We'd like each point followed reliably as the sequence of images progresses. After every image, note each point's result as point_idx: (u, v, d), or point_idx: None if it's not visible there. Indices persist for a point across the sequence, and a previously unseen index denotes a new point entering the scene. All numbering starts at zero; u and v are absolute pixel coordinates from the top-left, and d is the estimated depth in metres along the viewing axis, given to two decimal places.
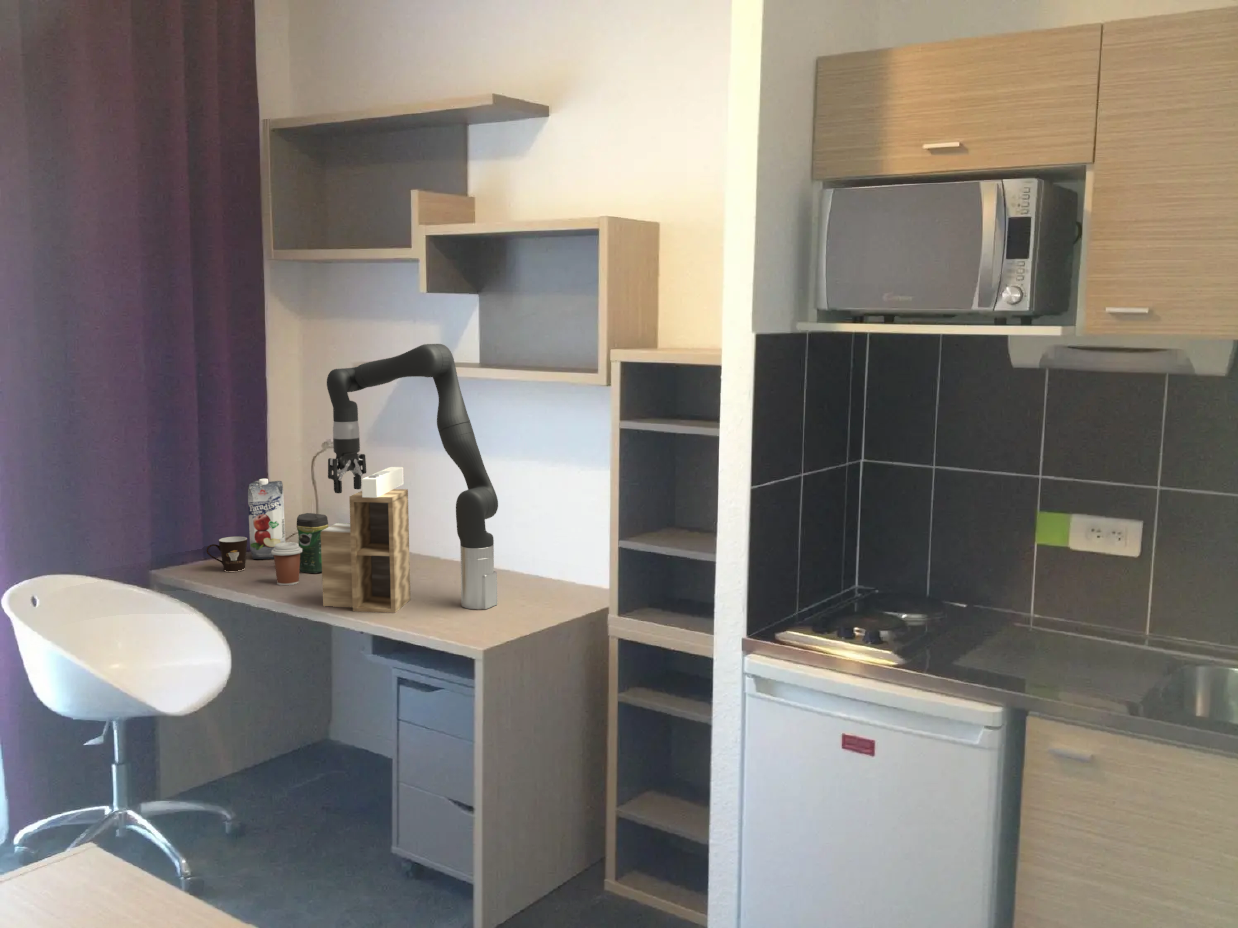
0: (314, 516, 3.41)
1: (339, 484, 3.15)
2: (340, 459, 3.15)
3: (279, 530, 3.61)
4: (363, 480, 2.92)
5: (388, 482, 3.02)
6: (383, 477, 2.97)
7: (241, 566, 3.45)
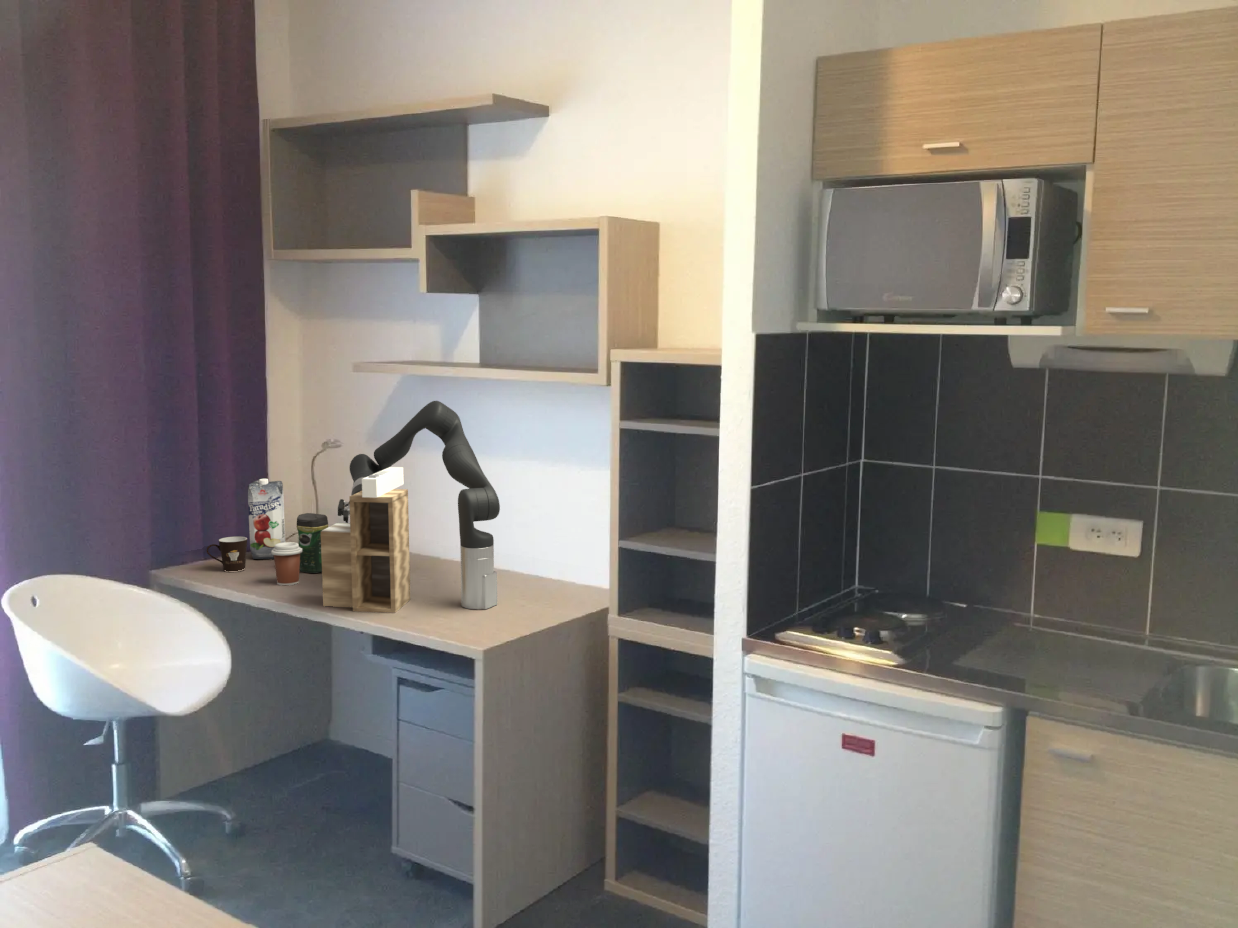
0: (314, 516, 3.41)
1: (346, 513, 3.15)
2: (349, 501, 3.21)
3: (279, 530, 3.61)
4: (363, 480, 2.92)
5: (388, 482, 3.02)
6: (383, 477, 2.97)
7: (241, 566, 3.45)
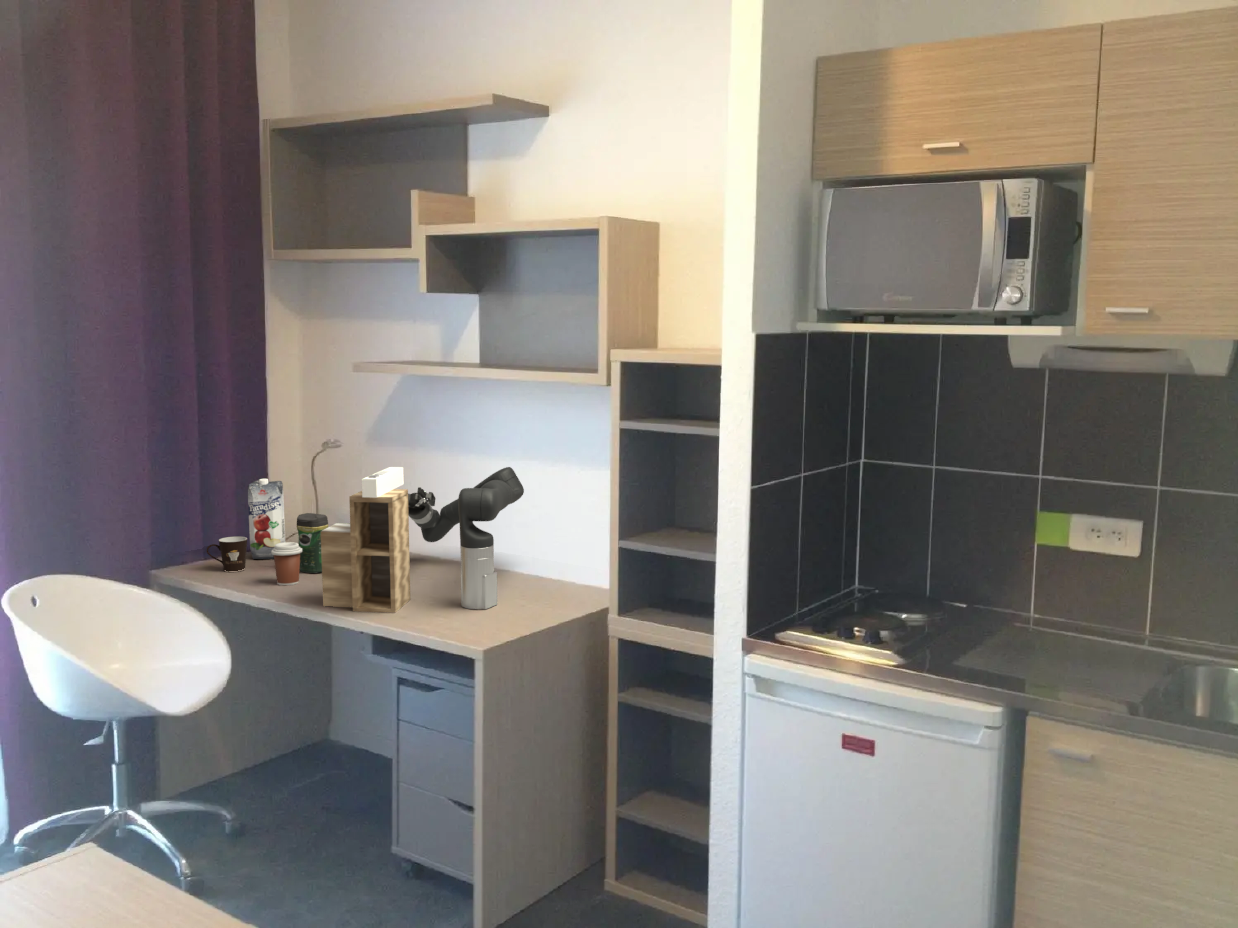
0: (314, 516, 3.41)
1: None
2: None
3: (279, 530, 3.61)
4: (363, 480, 2.92)
5: (388, 482, 3.02)
6: (383, 477, 2.97)
7: (241, 566, 3.45)
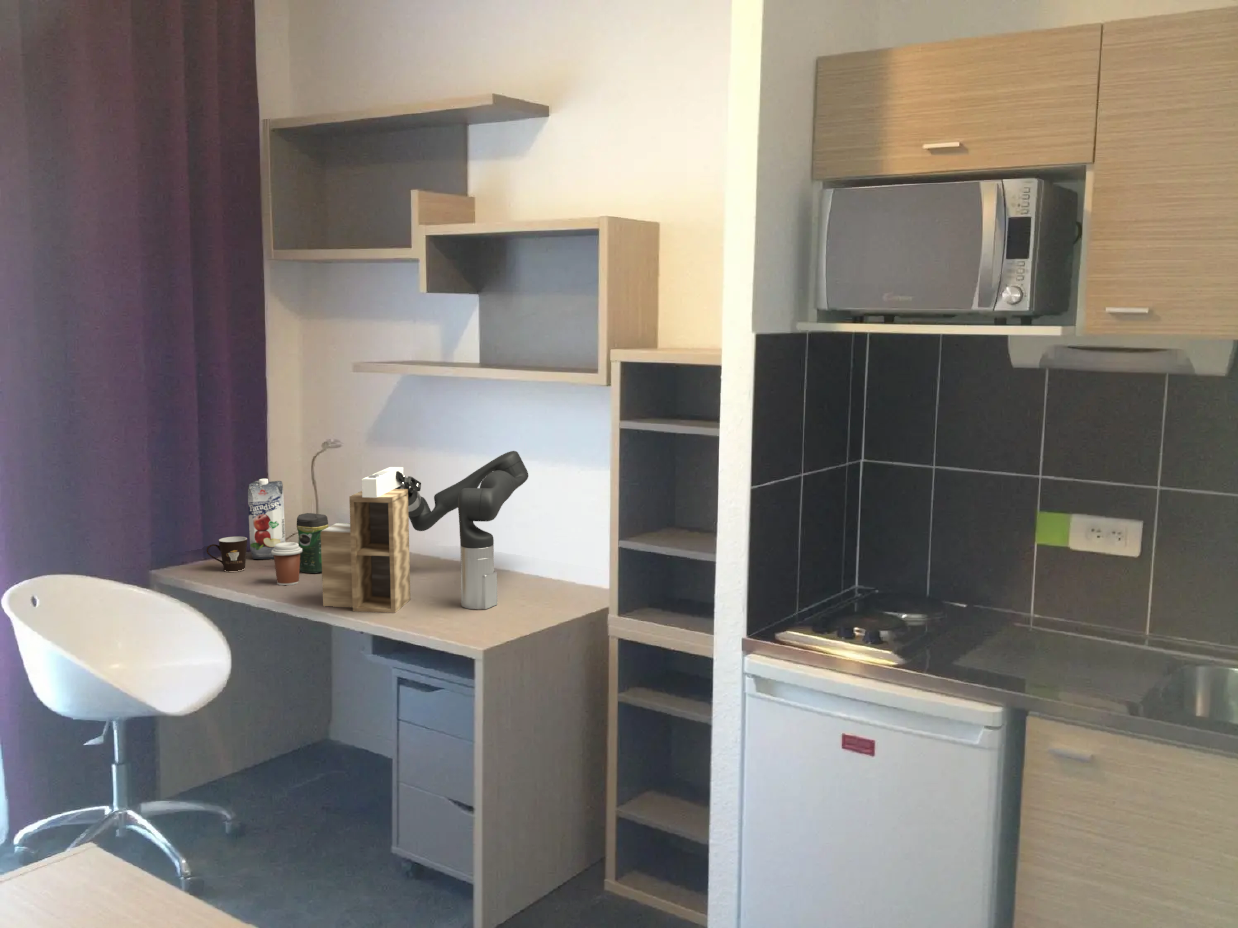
0: (314, 516, 3.41)
1: None
2: None
3: (279, 530, 3.61)
4: (363, 480, 2.92)
5: (388, 482, 3.02)
6: (383, 477, 2.97)
7: (241, 566, 3.45)
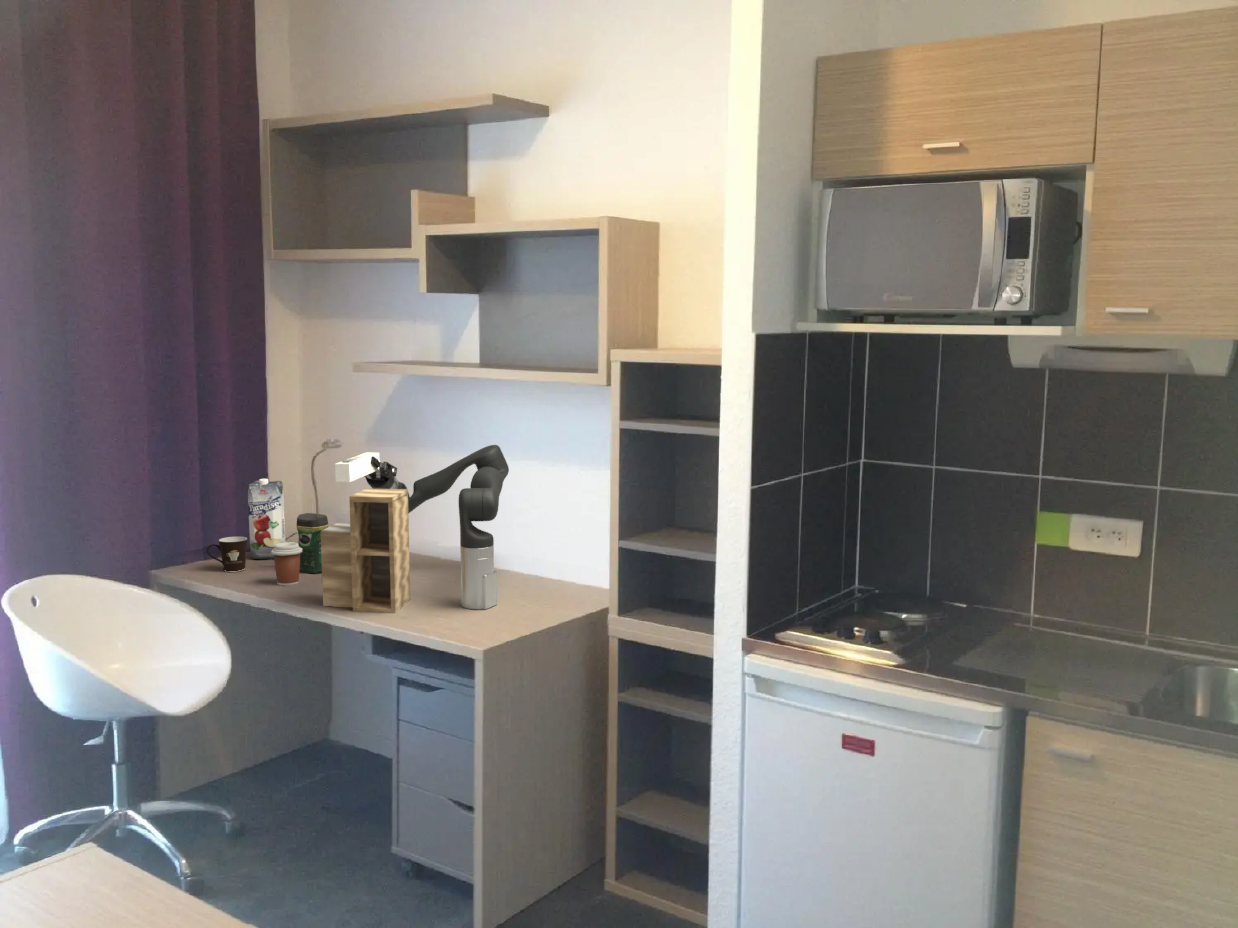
0: (314, 516, 3.41)
1: None
2: None
3: (279, 530, 3.61)
4: (336, 465, 2.95)
5: (363, 466, 3.05)
6: (357, 462, 3.00)
7: (241, 566, 3.45)
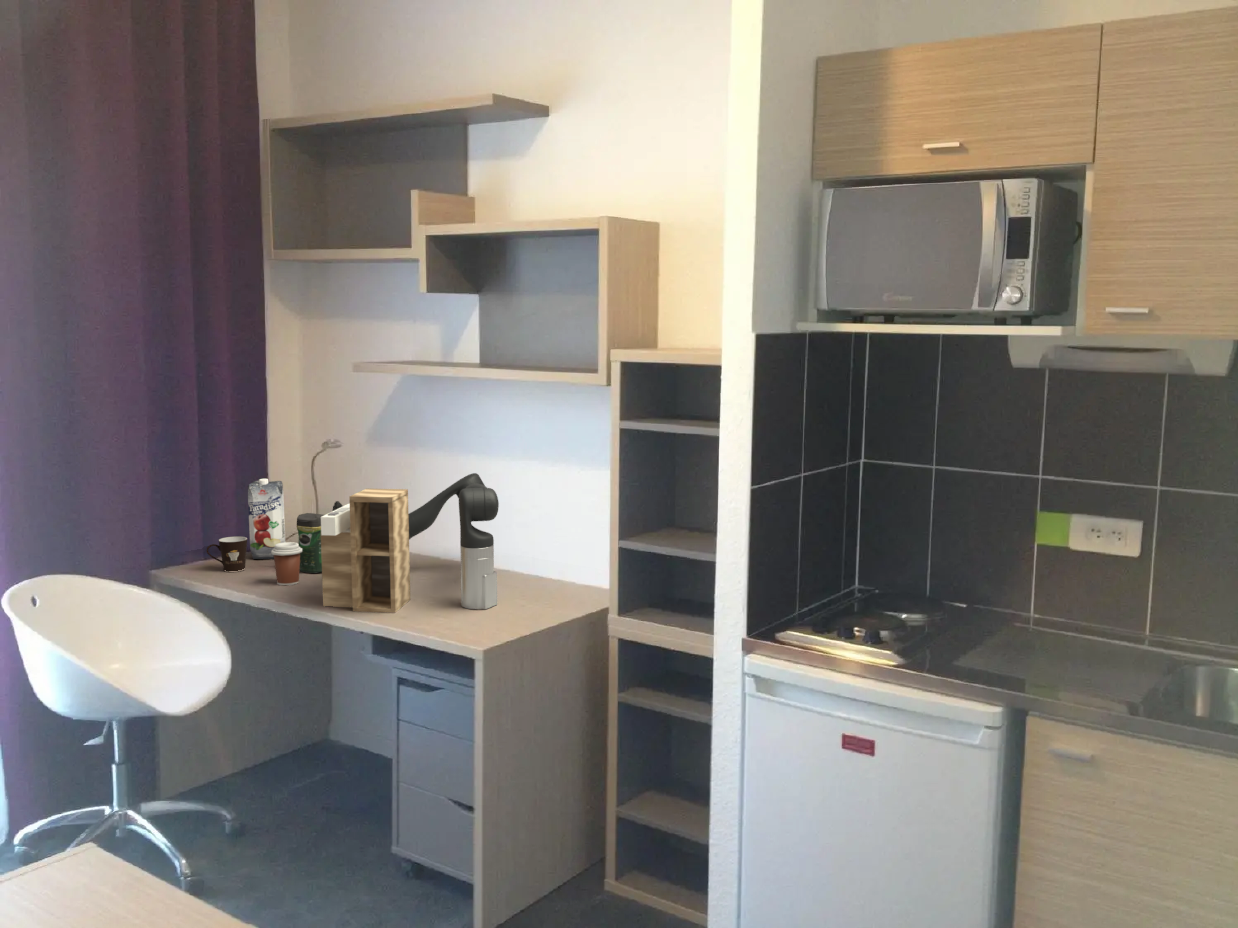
0: (314, 516, 3.41)
1: None
2: None
3: (279, 530, 3.61)
4: (322, 518, 2.93)
5: (348, 518, 3.04)
6: (343, 514, 2.99)
7: (241, 566, 3.45)
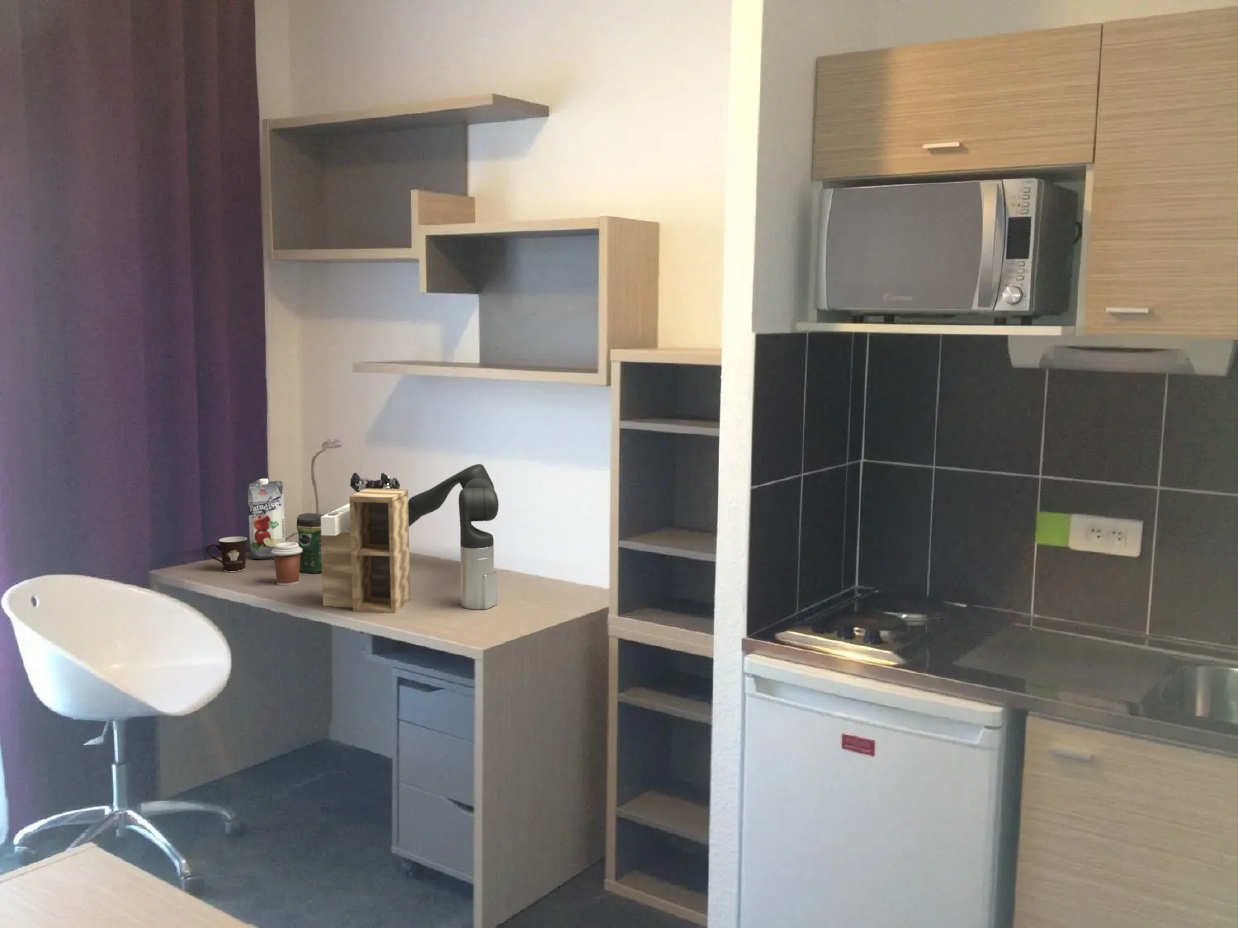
0: (314, 516, 3.41)
1: None
2: None
3: (279, 530, 3.61)
4: (322, 518, 2.93)
5: (348, 518, 3.04)
6: (343, 514, 2.99)
7: (241, 566, 3.45)
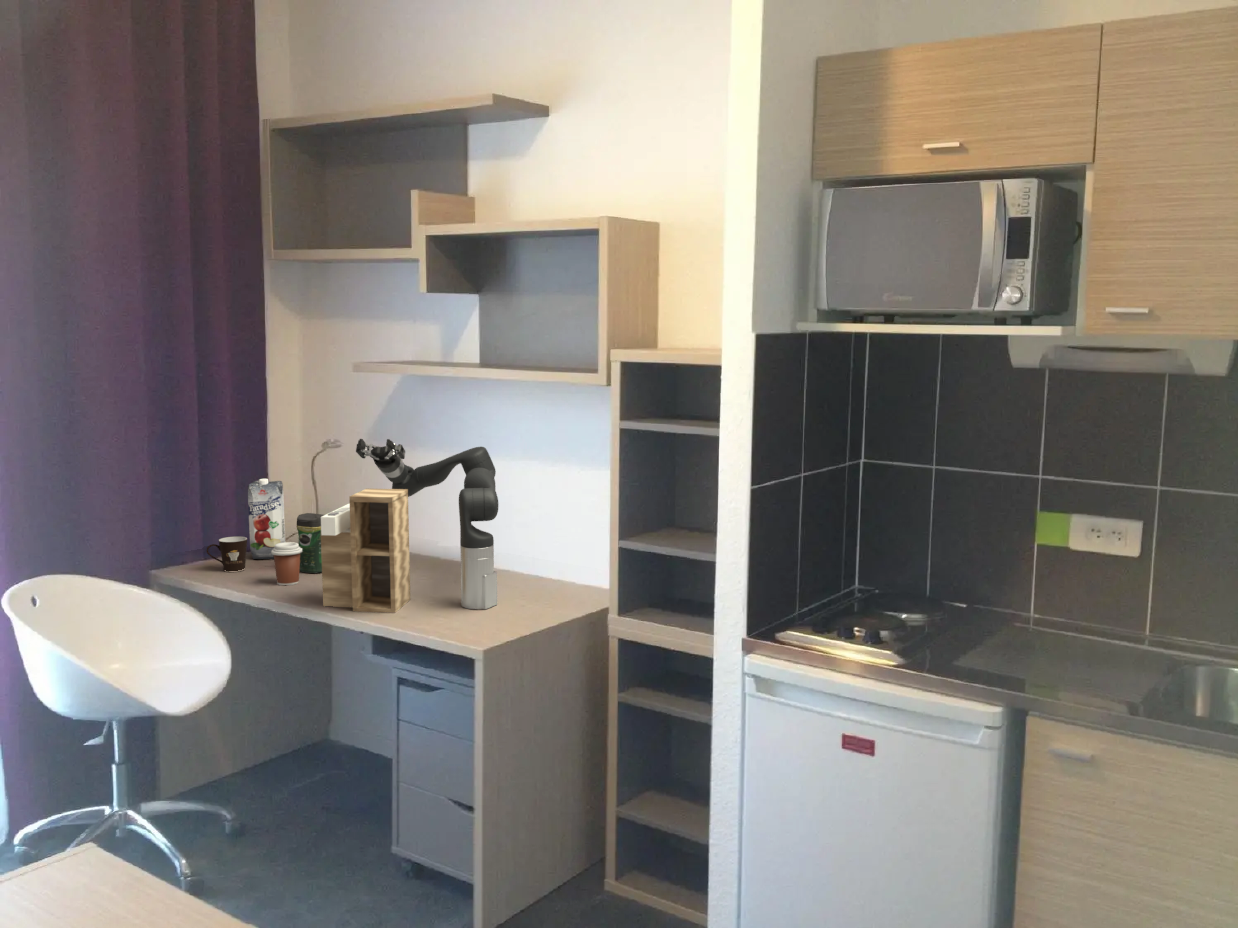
0: (314, 516, 3.41)
1: None
2: None
3: (279, 530, 3.61)
4: (322, 518, 2.93)
5: (348, 518, 3.04)
6: (343, 514, 2.99)
7: (241, 566, 3.45)
